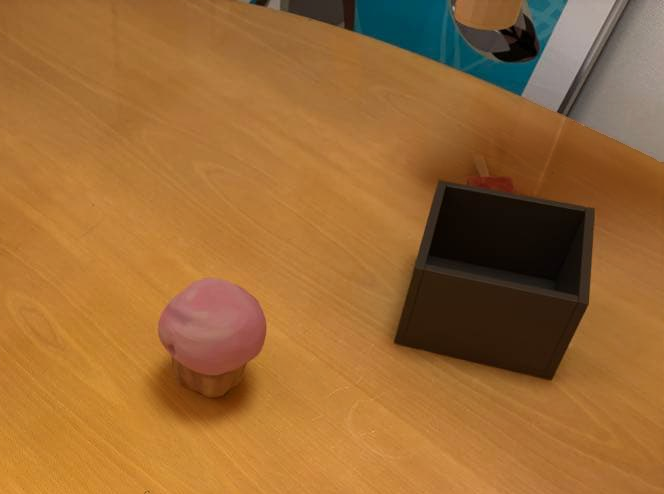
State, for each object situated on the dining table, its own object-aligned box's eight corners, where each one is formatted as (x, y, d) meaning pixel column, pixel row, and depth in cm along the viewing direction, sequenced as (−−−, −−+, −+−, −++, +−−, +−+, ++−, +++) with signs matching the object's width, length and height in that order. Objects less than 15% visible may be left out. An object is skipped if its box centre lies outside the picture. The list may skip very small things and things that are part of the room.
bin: (561, 284, 84) (595, 207, 77) (552, 380, 76) (589, 304, 69) (417, 254, 87) (438, 179, 81) (393, 343, 79) (414, 267, 73)
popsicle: (500, 149, 96) (534, 234, 87) (496, 163, 98) (528, 248, 88) (459, 149, 97) (487, 234, 87) (454, 162, 98) (482, 247, 88)
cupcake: (209, 332, 81) (214, 246, 73) (280, 381, 76) (293, 294, 69) (139, 381, 77) (136, 295, 70) (210, 435, 73) (215, 349, 65)
